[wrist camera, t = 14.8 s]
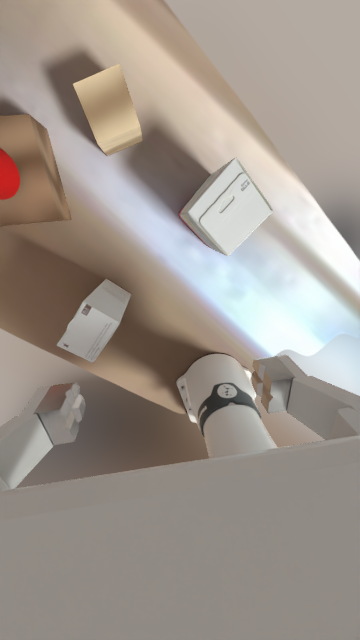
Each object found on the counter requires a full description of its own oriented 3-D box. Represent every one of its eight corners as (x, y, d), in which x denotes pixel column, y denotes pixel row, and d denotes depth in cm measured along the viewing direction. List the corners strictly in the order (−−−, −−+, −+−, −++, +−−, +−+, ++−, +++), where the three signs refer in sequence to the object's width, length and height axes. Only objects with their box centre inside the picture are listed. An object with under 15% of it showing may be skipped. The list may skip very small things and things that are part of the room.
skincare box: (112, 323, 45) (93, 367, 32) (85, 308, 43) (53, 348, 30) (133, 291, 43) (122, 324, 30) (105, 274, 41) (80, 301, 28)
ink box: (209, 249, 41) (227, 259, 30) (176, 214, 38) (184, 212, 27) (243, 212, 39) (276, 210, 28) (211, 172, 36) (235, 153, 25)
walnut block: (71, 219, 37) (59, 219, 32) (-3, 226, 36) (-25, 227, 31) (46, 129, 31) (28, 114, 27) (-40, 134, 31) (-73, 120, 26)
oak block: (142, 141, 33) (140, 126, 28) (107, 156, 34) (97, 144, 28) (125, 90, 31) (119, 63, 25) (87, 107, 31) (72, 83, 26)
